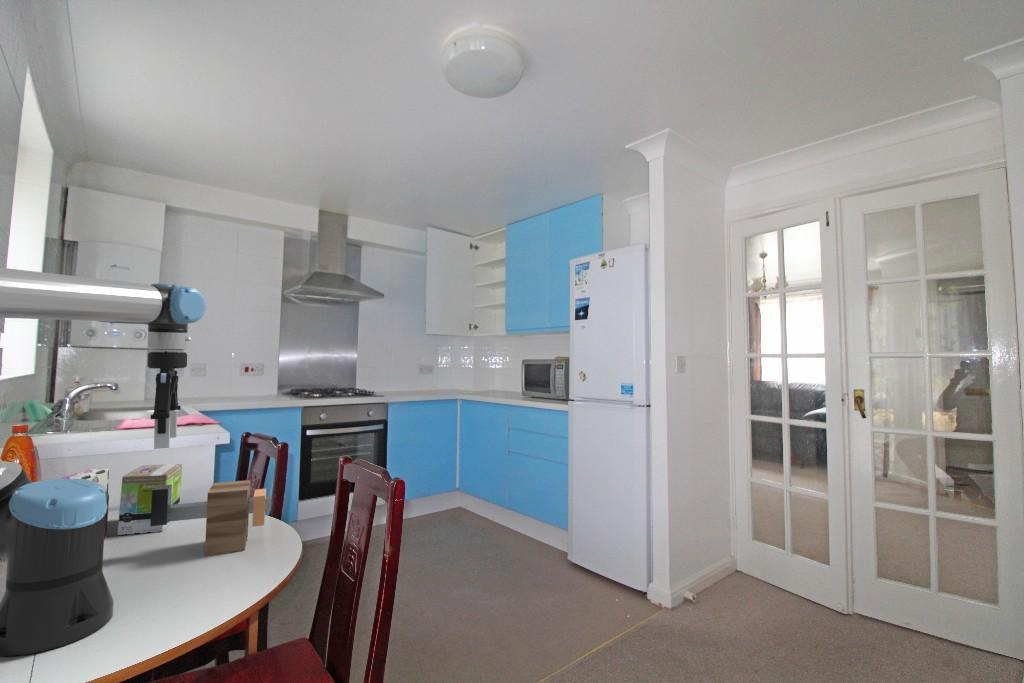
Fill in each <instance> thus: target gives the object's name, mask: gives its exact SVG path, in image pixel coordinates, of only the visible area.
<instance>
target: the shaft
mask: <svg viewBox="0 0 1024 683" xmlns="http://www.w3.org/2000/svg"><path fill="white" fill-rule="evenodd" d="M171 496H172V485H161V486H156V487H155V488H154V489H153V490H152V503H151V523H150V526H159V525H167V523H168V522H170V521H171V522H178V521H179V522H181V521H189V520H198V519H206V518H207V501H197V502H188V503H187V502H186V503H180V504H173V505H171ZM253 498H254V496H253V497H249V498H248V509H247V514H253ZM271 510H272V495H266V498H265V513H267V512H271ZM171 522H170V523H171Z"/></svg>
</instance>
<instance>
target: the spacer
mask: <svg viewBox="0 0 1024 683" xmlns="http://www.w3.org/2000/svg"><path fill="white" fill-rule="evenodd" d="M266 496H267V488H258V489H254V494H253V497H254V498H253V513H252V522H251V525H252V527H259V526H261V527H262V526H265V520H266V512H265V498H266Z"/></svg>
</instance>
